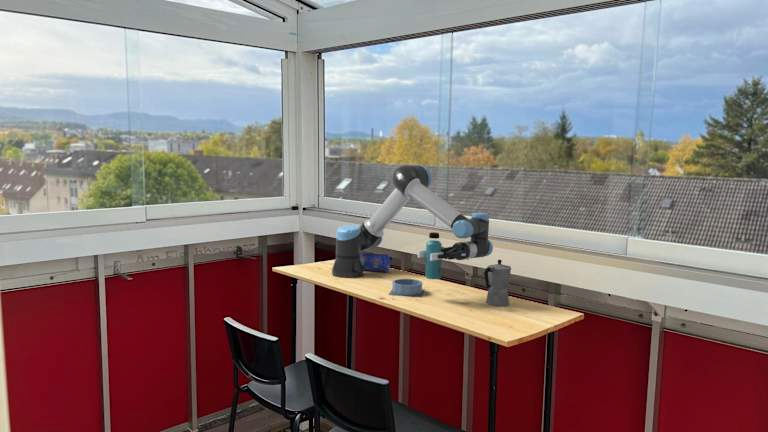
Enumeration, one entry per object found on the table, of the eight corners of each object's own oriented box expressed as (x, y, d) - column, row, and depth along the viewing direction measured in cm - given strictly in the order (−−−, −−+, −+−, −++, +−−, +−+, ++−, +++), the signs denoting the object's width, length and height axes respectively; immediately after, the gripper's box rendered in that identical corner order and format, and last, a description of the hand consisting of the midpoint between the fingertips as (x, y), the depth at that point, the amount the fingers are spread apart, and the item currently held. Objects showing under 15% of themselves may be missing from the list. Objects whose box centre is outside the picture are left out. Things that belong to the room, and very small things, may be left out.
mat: (388, 295, 238) (388, 294, 238) (393, 287, 252) (393, 287, 252) (421, 298, 236) (421, 297, 236) (425, 290, 250) (425, 289, 250)
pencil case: (392, 270, 289) (393, 252, 288) (387, 274, 281) (388, 255, 280) (351, 267, 295) (351, 249, 294) (345, 270, 287) (346, 251, 286)
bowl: (390, 294, 239) (390, 284, 238) (395, 287, 251) (395, 278, 251) (419, 296, 237) (420, 286, 236) (423, 289, 249) (423, 279, 248)
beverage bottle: (439, 283, 229) (441, 234, 227) (423, 282, 230) (425, 233, 228) (441, 280, 235) (443, 232, 233) (425, 278, 237) (427, 231, 234)
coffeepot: (498, 298, 238) (501, 256, 236) (517, 303, 231) (519, 260, 229) (473, 304, 228) (475, 259, 226) (492, 309, 221) (494, 264, 219)
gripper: (480, 263, 236) (441, 269, 221) (446, 255, 251) (407, 260, 236) (481, 245, 235) (442, 250, 220) (447, 238, 250) (408, 243, 235)
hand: (424, 255), depth 228 cm, fingers closed on beverage bottle, 6 cm apart
